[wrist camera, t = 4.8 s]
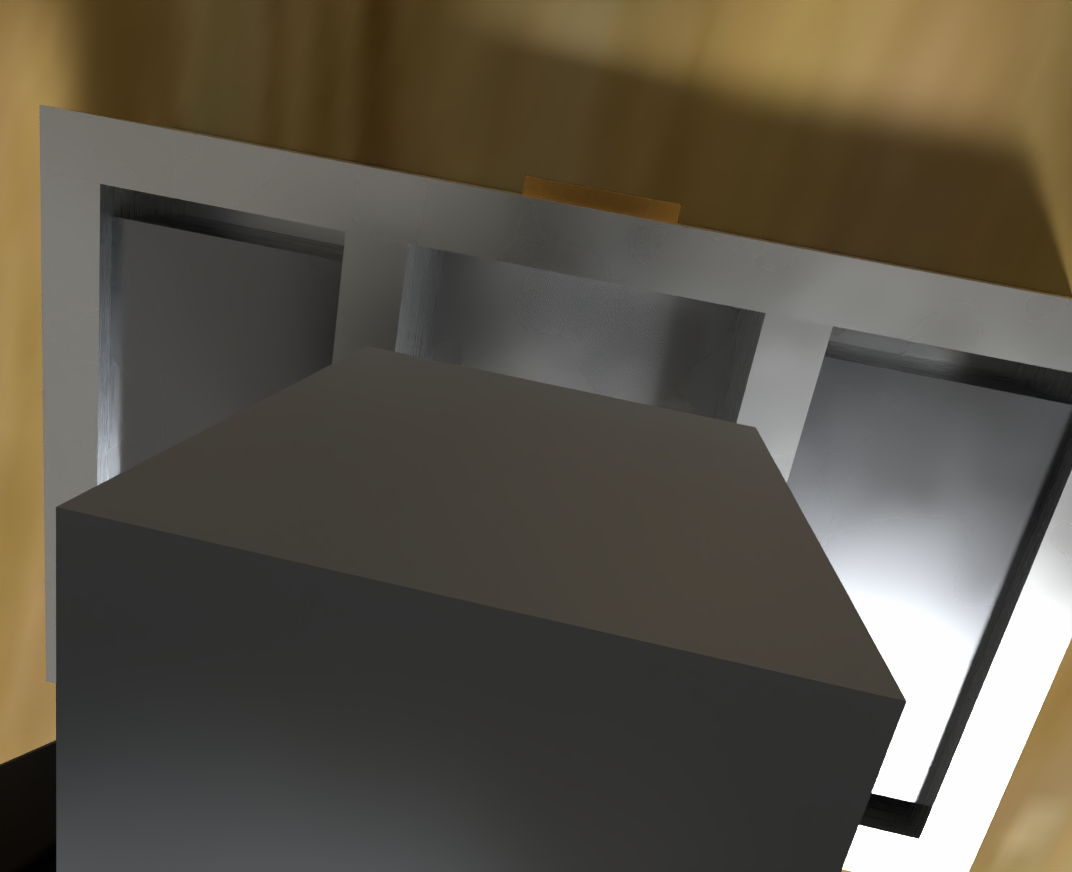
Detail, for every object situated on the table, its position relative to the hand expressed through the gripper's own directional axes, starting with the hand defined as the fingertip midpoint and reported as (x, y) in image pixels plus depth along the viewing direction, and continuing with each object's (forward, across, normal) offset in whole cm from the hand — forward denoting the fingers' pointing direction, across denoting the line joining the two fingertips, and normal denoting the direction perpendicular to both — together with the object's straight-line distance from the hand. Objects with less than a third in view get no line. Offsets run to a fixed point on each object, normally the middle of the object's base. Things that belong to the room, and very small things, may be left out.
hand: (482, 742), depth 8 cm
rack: (+9, 0, 0) cm, 9 cm away
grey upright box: (+1, 0, 0) cm, 1 cm away
